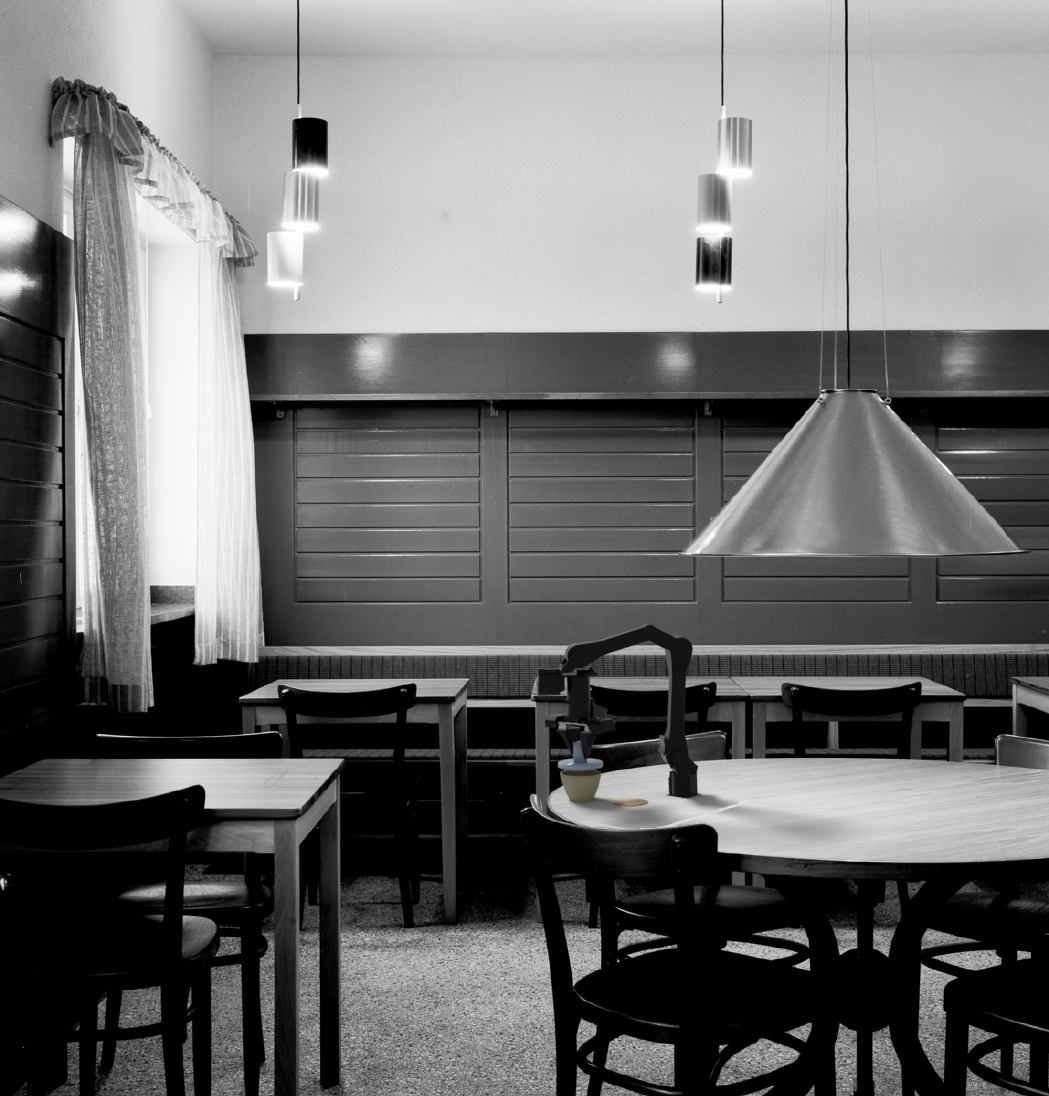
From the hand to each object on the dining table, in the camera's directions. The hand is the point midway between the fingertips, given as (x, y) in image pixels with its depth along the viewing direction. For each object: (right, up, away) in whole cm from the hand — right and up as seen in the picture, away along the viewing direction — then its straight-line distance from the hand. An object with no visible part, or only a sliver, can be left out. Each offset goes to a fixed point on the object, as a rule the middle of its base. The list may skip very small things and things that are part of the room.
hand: (580, 758), depth 281 cm
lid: (0, -2, 0) cm, 2 cm away
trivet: (+12, -10, -6) cm, 16 cm away
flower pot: (0, -11, 0) cm, 11 cm away
